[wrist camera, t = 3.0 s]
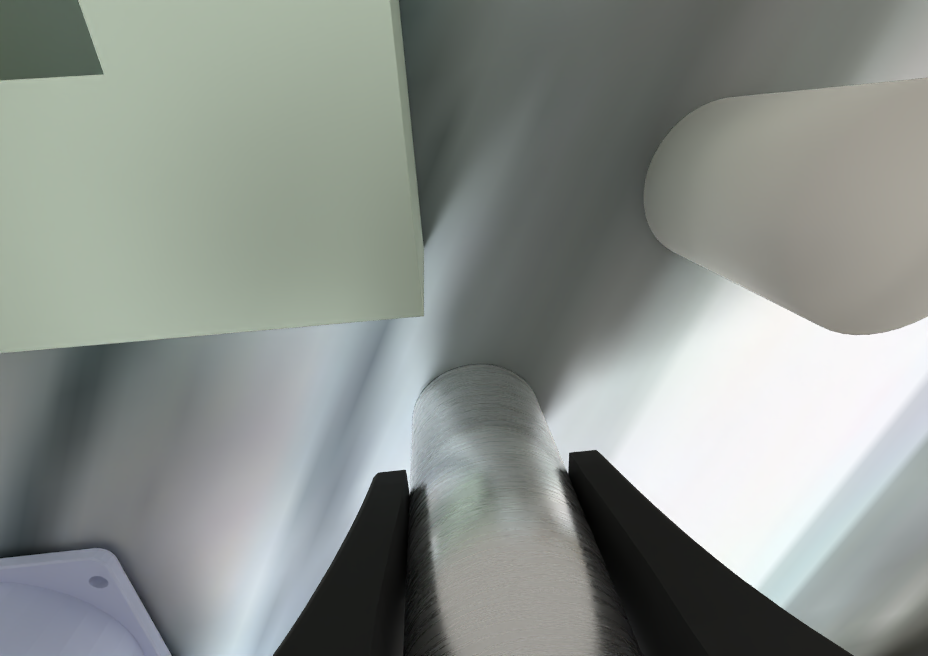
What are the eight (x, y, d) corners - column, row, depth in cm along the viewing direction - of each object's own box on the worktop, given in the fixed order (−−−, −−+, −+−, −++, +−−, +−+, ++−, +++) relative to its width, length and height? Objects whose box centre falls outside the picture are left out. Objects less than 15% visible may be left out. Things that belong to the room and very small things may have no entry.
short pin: (775, 252, 11) (977, 324, 7) (635, 264, 11) (760, 345, 7) (813, 91, 10) (1095, 66, 6) (653, 102, 10) (824, 83, 5)
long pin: (538, 462, 13) (673, 860, 6) (419, 475, 13) (413, 901, 6) (540, 358, 12) (722, 722, 5) (405, 370, 12) (375, 770, 4)
